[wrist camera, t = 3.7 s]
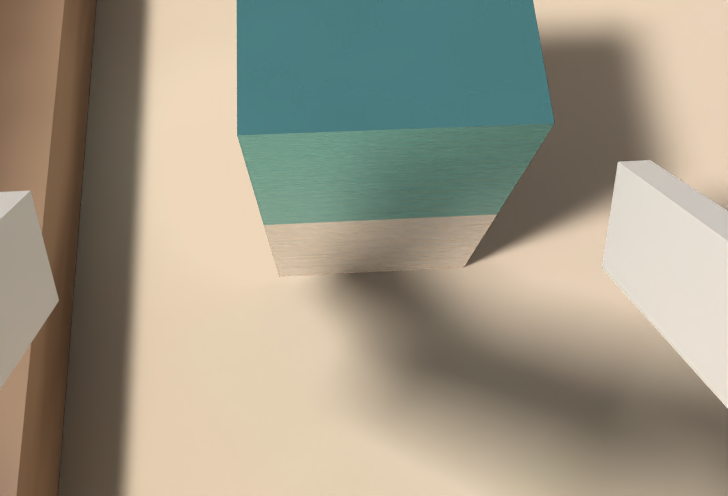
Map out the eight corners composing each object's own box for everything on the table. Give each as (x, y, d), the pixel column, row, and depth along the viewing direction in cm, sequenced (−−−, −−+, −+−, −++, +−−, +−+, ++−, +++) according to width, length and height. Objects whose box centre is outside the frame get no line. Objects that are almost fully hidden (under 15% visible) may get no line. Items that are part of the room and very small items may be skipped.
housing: (444, 106, 27) (511, -119, 17) (463, 267, 25) (554, 123, 15) (275, 112, 27) (236, -115, 16) (279, 276, 25) (237, 135, 14)
